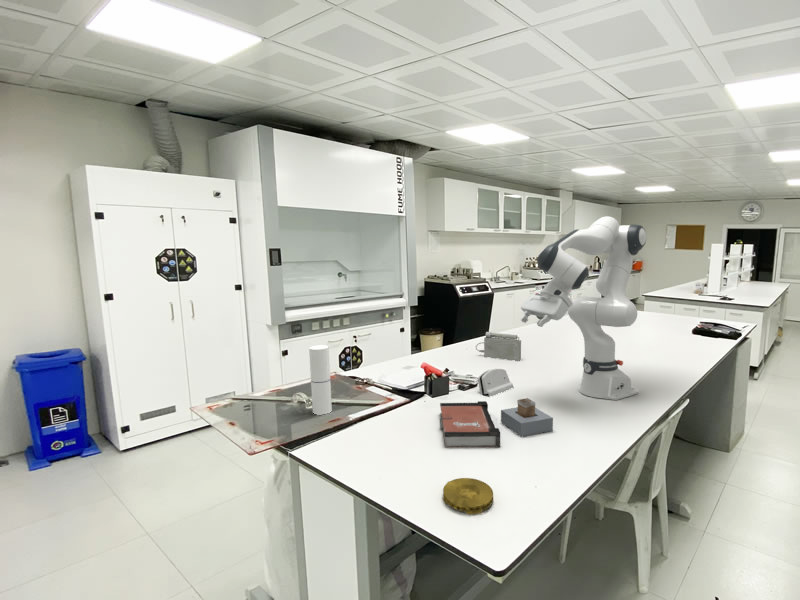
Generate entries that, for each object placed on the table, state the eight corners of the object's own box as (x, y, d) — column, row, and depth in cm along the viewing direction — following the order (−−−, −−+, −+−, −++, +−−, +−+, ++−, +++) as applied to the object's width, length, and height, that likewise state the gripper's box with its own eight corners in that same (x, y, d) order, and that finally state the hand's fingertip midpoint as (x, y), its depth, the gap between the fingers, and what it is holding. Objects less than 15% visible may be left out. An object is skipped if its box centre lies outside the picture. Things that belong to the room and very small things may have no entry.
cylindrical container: (315, 416, 155) (312, 350, 152) (310, 410, 161) (306, 346, 158) (334, 413, 158) (331, 347, 155) (328, 406, 164) (325, 344, 161)
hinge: (489, 397, 170) (482, 373, 171) (480, 398, 174) (474, 374, 175) (514, 387, 181) (508, 364, 182) (505, 389, 184) (499, 366, 186)
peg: (527, 423, 145) (527, 398, 143) (535, 427, 141) (535, 402, 140) (517, 425, 143) (517, 399, 142) (524, 430, 139) (525, 403, 138)
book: (438, 414, 155) (438, 401, 154) (486, 414, 154) (486, 401, 154) (442, 448, 129) (442, 433, 128) (500, 448, 128) (500, 432, 128)
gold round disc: (476, 522, 94) (476, 513, 94) (433, 501, 102) (433, 493, 102) (502, 497, 103) (502, 489, 103) (460, 480, 111) (460, 472, 111)
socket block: (530, 417, 149) (530, 405, 149) (552, 430, 138) (552, 417, 138) (500, 422, 146) (501, 409, 145) (521, 436, 134) (521, 423, 134)
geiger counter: (522, 333, 223) (477, 330, 236) (518, 336, 218) (473, 332, 231) (522, 359, 225) (477, 354, 238) (518, 362, 219) (473, 356, 233)
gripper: (530, 288, 169) (509, 314, 167) (566, 293, 150) (543, 322, 148) (539, 298, 171) (518, 324, 169) (576, 304, 152) (553, 333, 150)
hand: (530, 323), depth 158 cm, fingers open, 8 cm apart
